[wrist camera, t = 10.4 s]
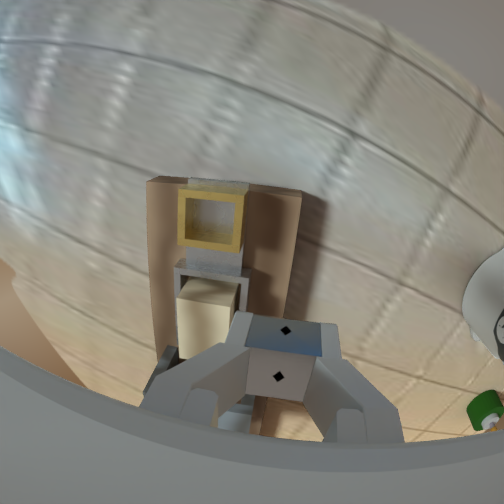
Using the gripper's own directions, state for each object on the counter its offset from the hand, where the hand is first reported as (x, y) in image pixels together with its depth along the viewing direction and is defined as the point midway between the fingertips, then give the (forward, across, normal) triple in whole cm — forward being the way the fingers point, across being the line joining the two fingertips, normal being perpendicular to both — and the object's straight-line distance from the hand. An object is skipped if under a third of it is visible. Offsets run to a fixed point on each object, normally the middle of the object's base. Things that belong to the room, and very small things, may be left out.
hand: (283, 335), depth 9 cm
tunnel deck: (+29, +8, +28) cm, 42 cm away
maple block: (+26, +8, +17) cm, 32 cm away
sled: (+25, +8, +16) cm, 31 cm away
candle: (+31, -50, +40) cm, 71 cm away
